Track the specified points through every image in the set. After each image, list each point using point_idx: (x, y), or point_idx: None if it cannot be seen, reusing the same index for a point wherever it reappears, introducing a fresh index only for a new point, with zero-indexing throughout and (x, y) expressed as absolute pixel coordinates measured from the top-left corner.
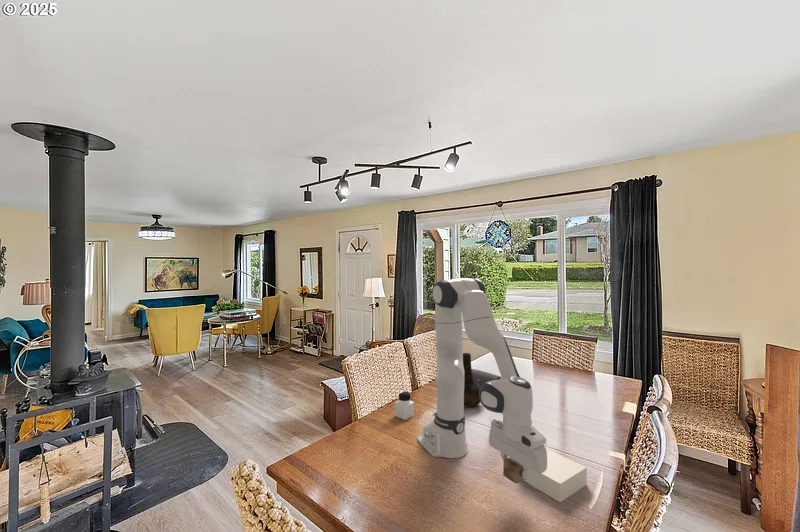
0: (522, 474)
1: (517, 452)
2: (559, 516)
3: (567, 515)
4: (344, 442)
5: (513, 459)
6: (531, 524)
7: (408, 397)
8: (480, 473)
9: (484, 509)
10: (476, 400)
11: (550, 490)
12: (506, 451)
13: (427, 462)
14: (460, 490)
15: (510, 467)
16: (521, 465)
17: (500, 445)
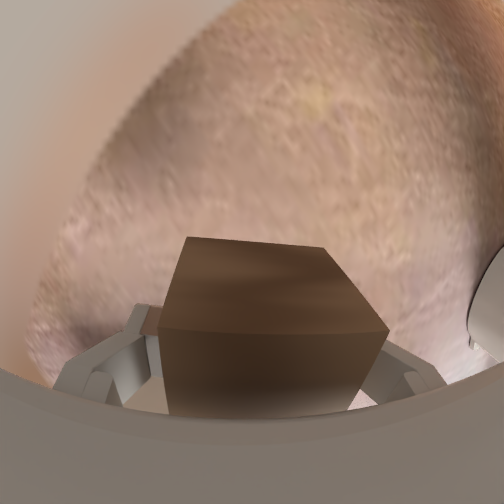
0: (140, 324)
1: None
2: (77, 298)
3: (71, 321)
4: None
5: (264, 420)
6: (97, 166)
7: None
8: (419, 275)
9: (297, 77)
10: None
11: (160, 382)
12: (418, 446)
13: None
14: (425, 123)
15: (268, 304)
16: (171, 402)
17: (501, 431)
